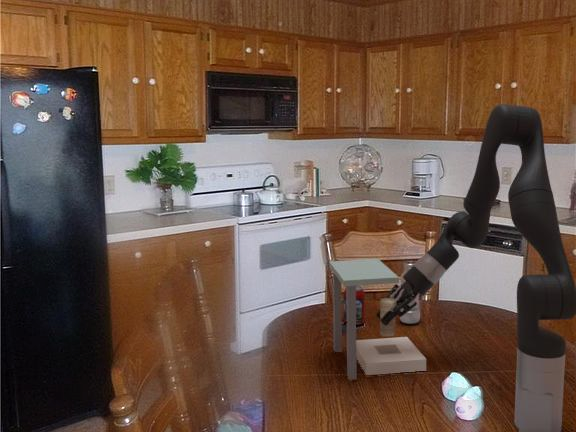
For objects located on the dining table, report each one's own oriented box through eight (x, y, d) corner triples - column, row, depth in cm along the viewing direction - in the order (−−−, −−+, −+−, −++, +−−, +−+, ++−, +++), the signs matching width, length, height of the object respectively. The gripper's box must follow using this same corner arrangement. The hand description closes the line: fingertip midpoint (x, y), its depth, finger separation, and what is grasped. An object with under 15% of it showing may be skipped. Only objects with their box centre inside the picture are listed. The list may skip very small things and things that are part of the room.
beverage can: (340, 325, 188) (340, 289, 186) (348, 318, 194) (348, 283, 192) (360, 328, 185) (360, 291, 183) (367, 321, 191) (367, 286, 189)
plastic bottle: (395, 321, 190) (395, 261, 187) (412, 318, 193) (412, 259, 190) (407, 327, 184) (407, 266, 181) (424, 324, 187) (425, 263, 184)
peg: (392, 337, 155) (392, 303, 154) (378, 335, 157) (378, 301, 156) (397, 332, 159) (397, 299, 157) (383, 330, 161) (383, 297, 159)
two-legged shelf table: (377, 347, 169) (377, 258, 165) (398, 377, 149) (399, 277, 145) (330, 351, 168) (329, 261, 163) (345, 381, 148) (343, 280, 144)
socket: (406, 348, 168) (406, 336, 167) (426, 371, 152) (426, 359, 152) (352, 352, 166) (352, 340, 166) (366, 376, 151) (366, 363, 150)
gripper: (406, 258, 163) (364, 303, 163) (424, 271, 149) (377, 320, 149) (424, 276, 164) (382, 320, 165) (443, 290, 150) (397, 338, 151)
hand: (380, 320), depth 157 cm, fingers closed on peg, 4 cm apart
